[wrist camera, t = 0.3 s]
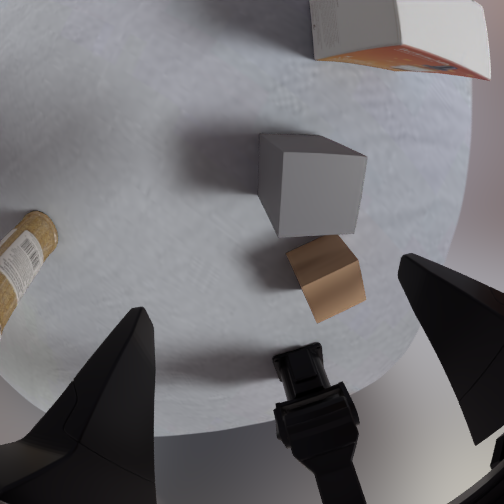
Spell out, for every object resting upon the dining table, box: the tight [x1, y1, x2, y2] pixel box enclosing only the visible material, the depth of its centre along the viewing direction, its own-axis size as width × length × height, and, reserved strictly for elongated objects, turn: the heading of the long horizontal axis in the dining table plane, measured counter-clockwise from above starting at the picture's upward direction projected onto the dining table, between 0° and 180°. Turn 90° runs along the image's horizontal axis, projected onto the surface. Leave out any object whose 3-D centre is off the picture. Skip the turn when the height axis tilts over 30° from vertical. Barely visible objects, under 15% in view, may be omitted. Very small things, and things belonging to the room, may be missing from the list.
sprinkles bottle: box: [0, 211, 58, 340], centre depth 14 cm, size 5×5×13 cm
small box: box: [309, 0, 491, 81], centre depth 11 cm, size 8×6×10 cm
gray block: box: [258, 134, 367, 238], centre depth 18 cm, size 5×5×7 cm
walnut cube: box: [286, 235, 366, 323], centre depth 24 cm, size 5×5×5 cm
